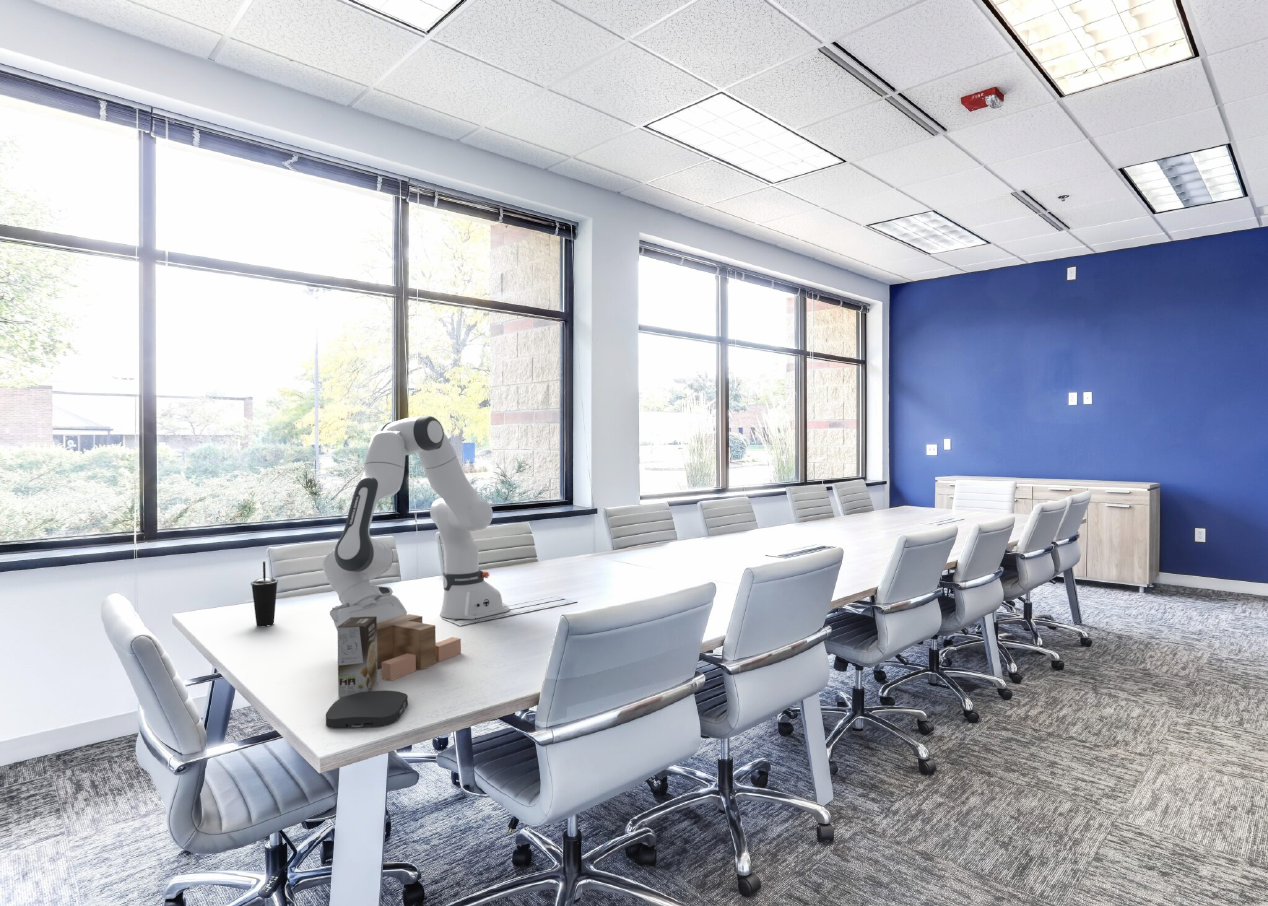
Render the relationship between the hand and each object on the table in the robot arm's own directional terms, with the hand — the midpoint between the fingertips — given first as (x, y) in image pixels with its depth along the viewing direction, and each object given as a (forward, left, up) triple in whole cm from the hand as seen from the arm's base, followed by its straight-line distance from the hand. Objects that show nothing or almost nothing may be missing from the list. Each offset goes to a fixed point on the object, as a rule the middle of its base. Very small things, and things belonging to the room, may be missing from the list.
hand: (385, 641), depth 184 cm
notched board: (-6, +12, -4) cm, 14 cm away
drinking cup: (+21, -57, -5) cm, 61 cm away
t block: (-4, +7, -4) cm, 9 cm away
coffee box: (+12, +20, -5) cm, 24 cm away
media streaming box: (+14, +36, -5) cm, 39 cm away
